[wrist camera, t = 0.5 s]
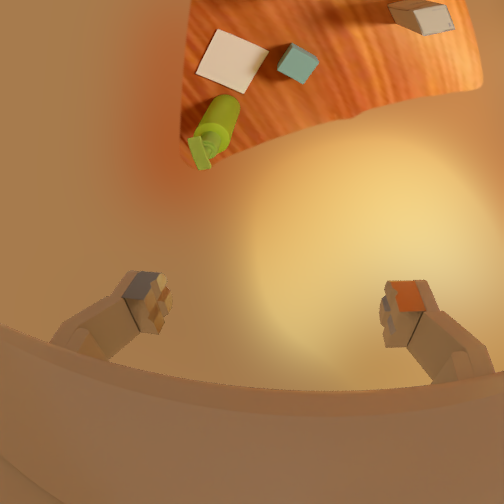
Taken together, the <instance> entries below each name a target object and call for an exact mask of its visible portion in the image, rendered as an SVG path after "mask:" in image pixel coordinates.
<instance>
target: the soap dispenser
mask: <svg viewBox="0 0 504 504" xmlns="http://www.w3.org/2000/svg"><path fill="white" fill-rule="evenodd" d="M239 112H240V105H239V102H238V101H237V100H236V99H235V98H234V97H232V96H230V95H219V96H217V97H215V98H214V99H213V100H212V102H211V104H210V105H209V107H208V109H207V111H206V112H205V114H204V116H203V118H202V119H201V121H200V123H199V125H198V126H197V128H196V130H195V132H194V137H192V138H188V144H189V147H190V151H191V154H192V156H193V159H194V161H195V163H196V166H197V168H198V170H204V169H210V168H211V164H210V161H209V159H211V158H213V157H215V156H216V155H217V153H220V152H222V151H224V150H225V149H226V148H227V147H228V145H229V142H230V139H231V136H232V133H233V130H234V127H235V124H236V121H237V118H238V115H239Z"/></svg>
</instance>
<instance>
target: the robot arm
mask: <svg viewBox="0 0 504 504" xmlns="http://www.w3.org/2000/svg"><path fill="white" fill-rule="evenodd" d="M166 283H167V279H166V276H165V274H163V273H155V272H144V271H128V272H127V273H126V275H125V276H124V277H123V279H122V280H121V282H120V283H119V284H118V286H117V287H116V288H115V290H114V291H113V293H112V294H111V296H106V297H105V298H103V299H101V300H99V301H98V302H96V303H94V304H93V305H91V306H89V307H88V308H86V309H84V310H83V311H81V312H79V313H78V314H76V315H74V316H73V317H71V318H69V319H68V320H66V321H64V322H63V323H62V325H61V326H60V327H59V329H58V330H57V332H56V333H55V335H54V336H53V338H52V339H51V341H50V342H49V343H48V342H45V341H42V340H40V339H37V338H34V337H32V336H30V335H27V334H24V333H22V332H20V331H17V330H15V329H12V328H10V327H8V326H6V325H4V324H1V323H0V504H504V371H501V372H497V373H495V371H494V367H493V365H492V362H491V359H490V357H489V354H488V351H487V348H486V346H485V345H483V344H482V343H481V342H480V341H479V340H478V339H476V338H475V337H474V336H473V335H472V334H471V333H469V332H468V331H467V330H466V329H465V328H463V327H462V326H461V325H460V324H459V323H457V322H456V321H455V320H454V319H453V318H451V317H450V316H449V315H448V314H446V313H445V312H444V311H440V310H439V308H438V305H437V303H436V301H435V298H434V296H433V294H432V291H431V289H430V287H429V285H428V283H427V281H426V280H413V281H387V283H386V285H385V289H384V290H385V293H386V295H385V296H384V297H383V298H382V300H381V304H380V312H379V314H380V322H381V324H382V325H383V326H384V327H385V328H384V332H383V337H384V342H385V347H386V348H388V347H389V348H392V347H407V349H408V350H409V352H410V353H411V354H412V355H413V357H414V358H415V359H416V360H417V361H418V363H419V364H420V365H421V366H422V367H423V369H424V370H425V371H426V373H427V374H428V375H429V376H430V377H431V379H432V380H433V382H432V383H431V384H430V385H424V386H415V387H405V388H394V389H380V390H361V391H300V390H279V389H265V388H253V387H242V386H233V385H225V384H217V383H210V382H203V381H197V380H190V379H185V378H179V377H174V376H168V375H163V374H158V373H153V372H148V371H144V370H140V369H135V368H131V367H127V366H123V365H119V364H115V363H112V362H109V359H110V358H111V357H113V356H114V355H115V354H116V353H117V352H119V351H120V350H121V349H122V348H123V347H124V346H125V345H127V344H128V343H129V342H130V341H132V340H133V339H134V338H135V337H136V336H137V335H139V334H140V332H143V333H151V334H159V333H160V331H161V329H162V326H163V325H164V323H165V321H164V318H163V317H165V316H166V315H168V314H169V312H170V310H171V307H172V294H171V291H170V290H169V289H168V288H167V287H166V286H165V285H166Z"/></svg>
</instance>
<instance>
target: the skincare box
mask: <svg viewBox="0 0 504 504" xmlns="http://www.w3.org/2000/svg"><path fill="white" fill-rule="evenodd" d="M387 6H388V8H389V10H390V12H391V14H392V16H393V18H394V21H395V23H396V24H398V25H401V26H403V27H405V28H408V29H410V30H412V31H415V32H417V33H419V34H421V35H423V36H427V35H432V34H437V33H441V32H446V31H450V30H455V27H454V24H453V21H452V19H451V16H450V13H449V11H448V9H447V6H446V5H444V4H439V3H435V2H430V1H426V0H403V1H398V2H394V3H390V4H387Z"/></svg>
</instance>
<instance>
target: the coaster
mask: <svg viewBox="0 0 504 504" xmlns="http://www.w3.org/2000/svg"><path fill="white" fill-rule="evenodd" d="M268 53H269V51H268V50H266V49H264V48H261V47H259V46H257V45H255V44H253V43H251V42H248V41H246V40H244V39H242V38H239V37H237V36H235V35H232V34H230V33H227V32H225V31H222V30H220V29H217V31H216V33H215V35H214V37H213V39H212V41H211V43H210V45H209V47H208V49H207V51H206V53H205V55H204V57H203V59H202V61H201V63H200V65H199V67H198V70H197V72H196V74H198V75H200V76H203V77H205V78H208V79H210V80H213V81H215V82H218V83H220V84H222V85H225V86H227V87H229V88H231V89H234V90H236V91H238V92H240V93H242V94H244V93H245V91H246V89H247V87H248V86H249V84H250V82H251V81H252V79H253V77H254V75H255V74H256V72H257V70H258V69H259V67H260V66H261V64H262V62H263V61H264V59H265V57H266V56H267V54H268Z"/></svg>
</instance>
